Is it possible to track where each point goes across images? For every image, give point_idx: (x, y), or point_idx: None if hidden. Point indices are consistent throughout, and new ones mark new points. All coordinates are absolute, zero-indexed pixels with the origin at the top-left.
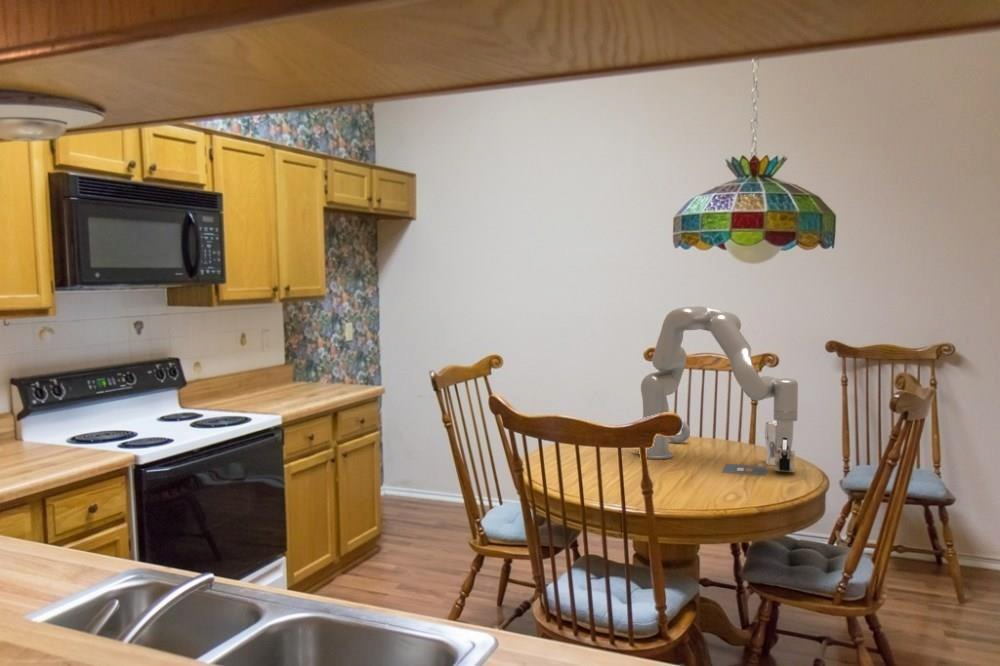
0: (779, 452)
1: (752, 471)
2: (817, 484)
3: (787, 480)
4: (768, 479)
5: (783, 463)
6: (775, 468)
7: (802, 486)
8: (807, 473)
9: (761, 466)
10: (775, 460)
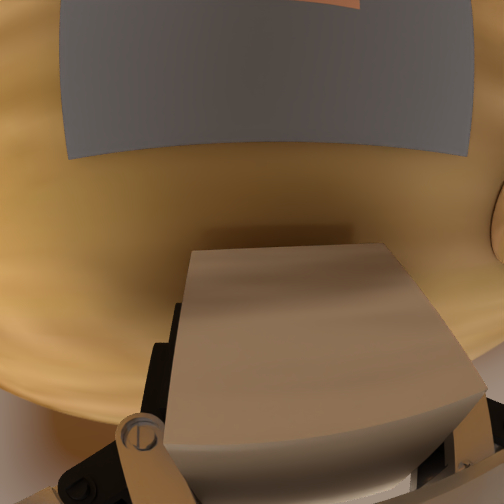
0: (255, 470)
1: (219, 3)
2: (110, 419)
3: (88, 317)
4: (35, 193)
5: (151, 387)
6: (191, 268)
7: (30, 370)
8: None
9: (463, 107)
10: (178, 337)
